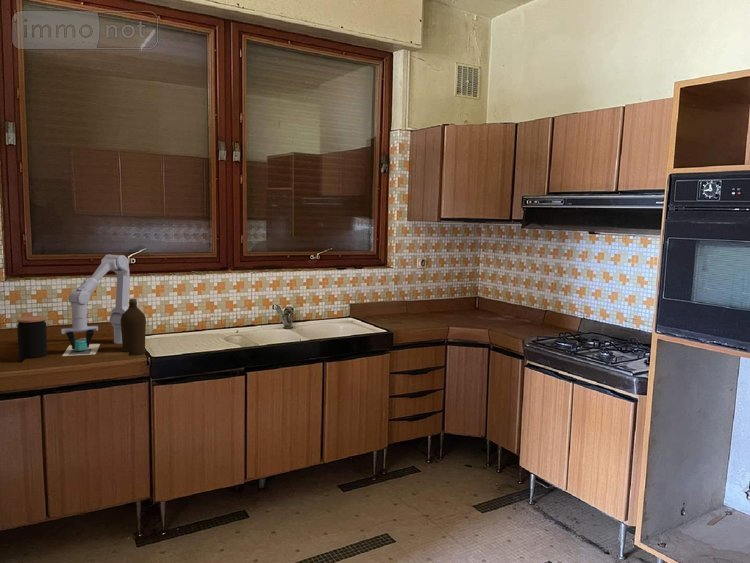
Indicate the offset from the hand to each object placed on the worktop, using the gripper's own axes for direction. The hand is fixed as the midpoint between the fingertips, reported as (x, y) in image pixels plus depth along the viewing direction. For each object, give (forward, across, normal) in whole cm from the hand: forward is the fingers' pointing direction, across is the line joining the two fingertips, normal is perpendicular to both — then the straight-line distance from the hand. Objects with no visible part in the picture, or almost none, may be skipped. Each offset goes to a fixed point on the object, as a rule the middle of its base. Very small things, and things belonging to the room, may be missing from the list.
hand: (80, 348), depth 249 cm
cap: (0, 0, 0) cm, 1 cm away
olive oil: (+4, -21, +7) cm, 22 cm away
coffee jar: (+4, +18, -3) cm, 18 cm away
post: (+2, -3, -10) cm, 10 cm away
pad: (+2, 0, 0) cm, 2 cm away
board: (+3, -1, -5) cm, 6 cm away
